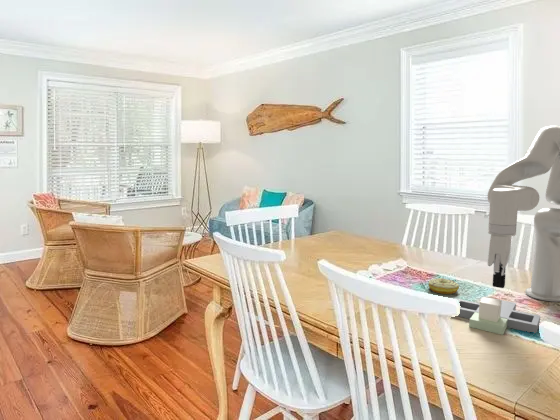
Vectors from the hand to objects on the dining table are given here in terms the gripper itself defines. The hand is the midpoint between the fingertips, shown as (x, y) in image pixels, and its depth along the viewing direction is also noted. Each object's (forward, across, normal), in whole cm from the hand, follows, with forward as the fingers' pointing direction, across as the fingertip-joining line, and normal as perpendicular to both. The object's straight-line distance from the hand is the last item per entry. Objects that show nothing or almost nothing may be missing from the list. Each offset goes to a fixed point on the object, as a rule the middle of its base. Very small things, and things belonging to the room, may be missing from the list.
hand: (498, 286), depth 134 cm
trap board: (+10, +2, 0) cm, 10 cm away
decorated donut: (+10, -15, -21) cm, 27 cm away
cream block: (+7, +9, 0) cm, 12 cm away
